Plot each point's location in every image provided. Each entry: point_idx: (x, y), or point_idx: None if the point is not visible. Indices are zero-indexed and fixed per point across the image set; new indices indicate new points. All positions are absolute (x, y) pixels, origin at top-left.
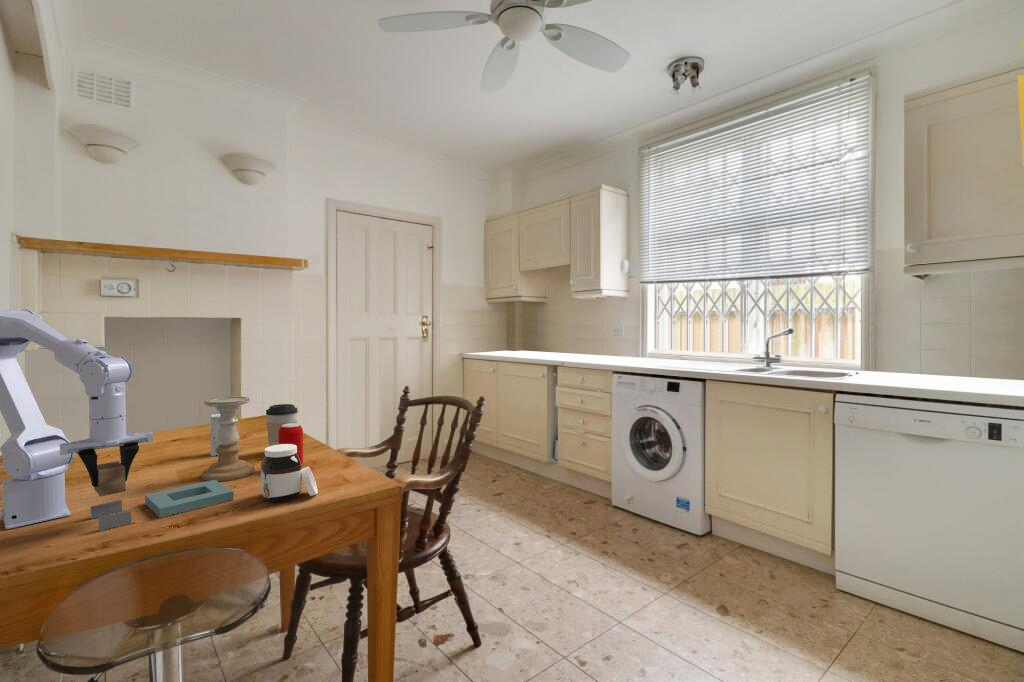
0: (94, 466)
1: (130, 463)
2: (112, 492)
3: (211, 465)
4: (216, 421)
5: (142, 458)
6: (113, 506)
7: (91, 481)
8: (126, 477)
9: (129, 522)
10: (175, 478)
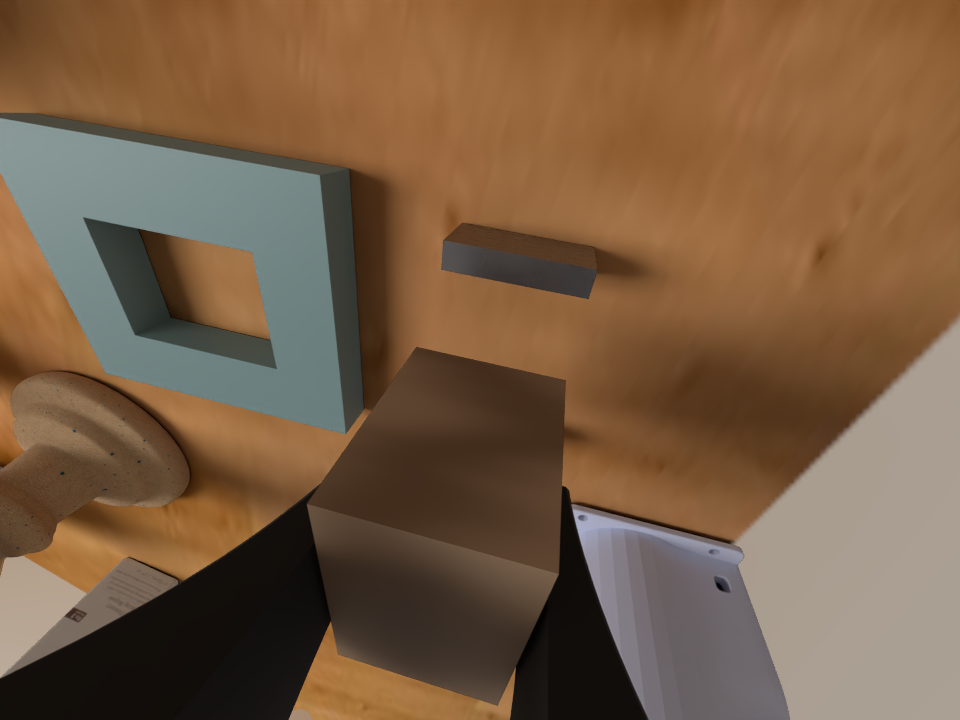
0: (573, 688)
1: (249, 543)
2: (490, 370)
3: (130, 497)
4: None
5: (315, 663)
6: None
7: None
8: None
9: (468, 225)
10: (260, 524)
